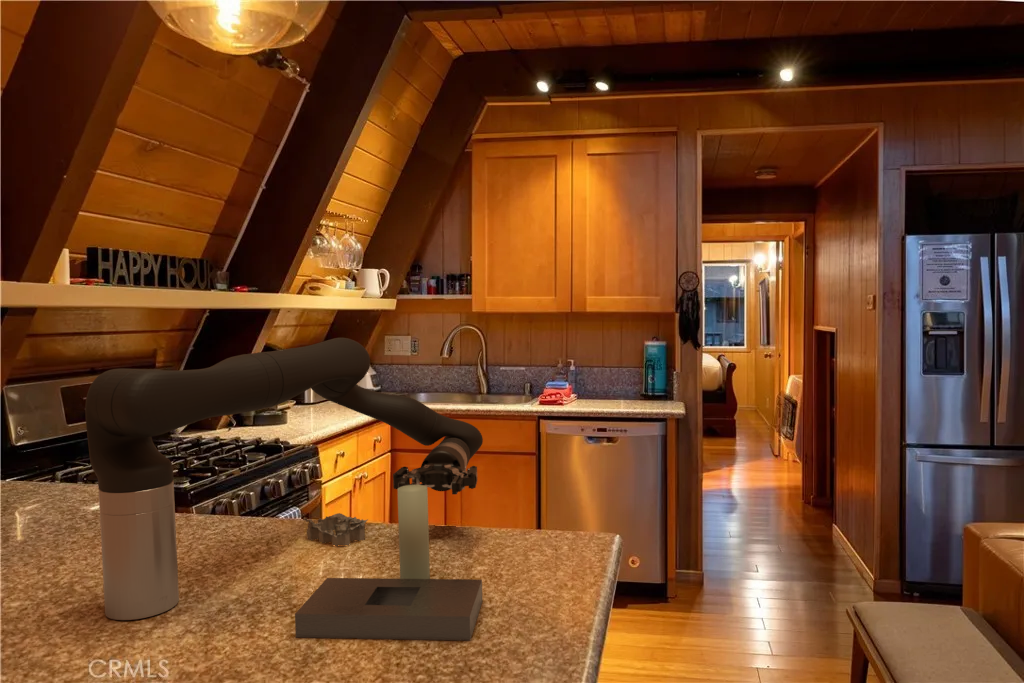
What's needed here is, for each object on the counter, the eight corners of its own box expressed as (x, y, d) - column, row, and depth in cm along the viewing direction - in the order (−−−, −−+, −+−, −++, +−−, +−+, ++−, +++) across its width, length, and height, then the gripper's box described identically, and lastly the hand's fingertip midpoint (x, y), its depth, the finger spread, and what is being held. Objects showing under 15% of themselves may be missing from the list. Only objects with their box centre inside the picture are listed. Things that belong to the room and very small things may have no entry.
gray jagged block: (300, 539, 131) (299, 517, 131) (334, 529, 137) (334, 507, 136) (337, 550, 124) (336, 527, 124) (372, 539, 130) (371, 516, 130)
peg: (394, 580, 109) (391, 488, 108) (418, 573, 112) (416, 483, 111) (411, 588, 106) (408, 493, 105) (435, 580, 109) (433, 488, 108)
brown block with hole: (295, 637, 91) (294, 614, 91) (327, 598, 103) (327, 577, 103) (470, 640, 89) (469, 616, 89) (482, 600, 101) (481, 579, 101)
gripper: (406, 446, 136) (385, 466, 120) (482, 445, 135) (470, 465, 119) (408, 485, 137) (386, 511, 121) (483, 485, 136) (472, 511, 120)
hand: (428, 488), depth 120 cm, fingers open, 8 cm apart
